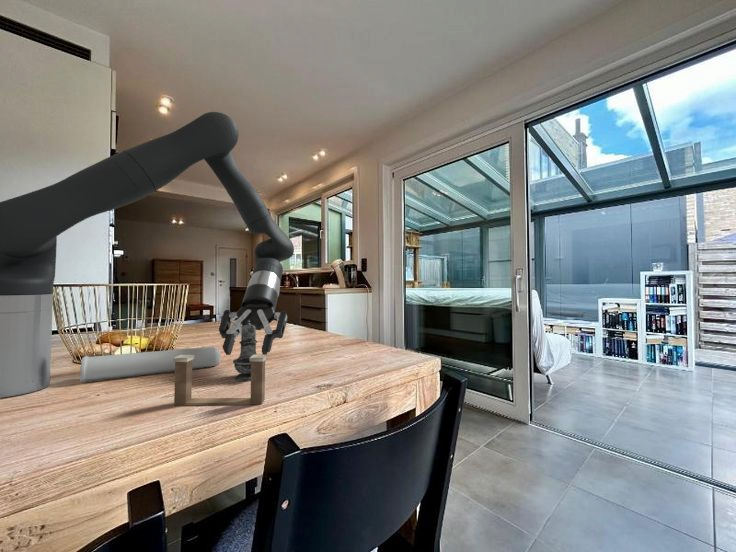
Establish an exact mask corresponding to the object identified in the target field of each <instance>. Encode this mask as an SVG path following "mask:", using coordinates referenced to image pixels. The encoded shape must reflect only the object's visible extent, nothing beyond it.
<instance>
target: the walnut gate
mask: <svg viewBox="0 0 736 552" xmlns="http://www.w3.org/2000/svg"><path fill="white" fill-rule="evenodd" d="M267 357H268V354H267V355H263V354H257V355H253V356H251V357H250V362H251V381H250V397H215V398H214V397H207V398H205V397H203V398H201V397H195V398H192V387H193V386H192V384H193V383H192V382H193V369H192V359H194V355H179V356H177V357H175V358H173V362H175V371H174V395H173V396H174V399H173V403H174V404H173V405H174V406H242V405H243V406H244V405H245V406H246V405H249V406H250V405H263V403H264V402H265V400H266V399H265V397H266V396H265V394H266V393H265V392H266V390H265V389H266V388H265V387H266V359H267Z"/></svg>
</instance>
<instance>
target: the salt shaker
mask: <svg viewBox="0 0 736 552" xmlns="http://www.w3.org/2000/svg"><path fill="white" fill-rule="evenodd" d="M241 327H242V326H241ZM256 332H257V330H256V327H255V326H254V325H252V324H250V321H249V320H248V324H246V325H244V326H243V327H242V330H241V334H240V336H241V338H240V339H241V341H239V344H240V354H239V356H238V357H237V358H236V359H234V360H233V361H232V363H233V365H234V369H235V370H236V371H237V372H238V373H239V374H236V375H235V376H234V377H233V379H234V380H235V381H236V382H251V362H250V357H251V356H253V355H258V354H257V350H256V349H257V347H256V346H257V343H258V340H257V337H256V334H257V333H256Z"/></svg>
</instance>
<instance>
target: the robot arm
mask: <svg viewBox="0 0 736 552" xmlns="http://www.w3.org/2000/svg"><path fill="white" fill-rule="evenodd" d="M239 136H240V135H239V129H238V126H237V123H236V122H235V121H234V119H233V118H232V117H230V116H229V115H227V114H226V113H223V112H219V111H209V112H205V113H203V114H202V115H200V116H198V117H197V118H195V119H194V120H192V121H190V122H189V123H187V124H185V125H184V126H182V127H180V128H178V129H176V130H174V131H172V132H169V133H167V134H165V135H162V136H160V137H159V136H158V137H157V138H153V139H150V140H147V141H145V142H143V143H141V144H138V145H135V146H133V147H129V148H127V149H124V150H122V151H120V152H117V153H114V154H113V155H111V156H109V157H106V158H104V159H102V160H100V161H98V162H95V163H93V164H91V165H89V166H87V167H86V168H83V169H82V170H79V171H78V172H75V173H74V174H72V175H70V176H68V177H66V178H64V179H62V180H60V181H58V182H56V183H53V184H51V185H48V186H45V187H42V188H40V189H37V190H34V191H31V192H27V193H25V194H22V195H19V196H16V197H12V198H9V199H6V200H3V201H0V399H1V398H8V397H14V396H15V397H16V396H20V395H24V394H28V393H29V394H30V393H33V392H36V391H39V390H43V389H45V388H47V387H49V386H50V384H51V367H52V362H51V361H52V336H53V335H52V333H53V303H54V302H53V300H54V299H53V297H54V296H53V295H54V294H53V293H54V282H55V277H56V267H57V266H56V264H57V263H56V262H57V247H58V246H57V245H58V244H57V241H58V239H57V237H58V236H59V235H61V234H63V233H64V232H66V231H68V230H69V229H71V228H72V227H74V226H76V225H77V224H79V223H81V222H83V221H85V220H87V219H89V218H91V217H95V216H96V215H100V214H103V213H106V212H109V211H113V210H116V209H120V208H122V207H125V206H128V205H130V204H132V203H135V202H137V201H139V200H142V199H144V198H146V197H148V196H149V195H151V194H153V193H155V192H157V191H158V190H160V189H161V188H163V187H165V186H167V185H168V184H169V183H171V182H172V181H173V180H175V179H176V178H177V177H179V176H180V175H181V174H183V173H184V172H185V171H186V170H188V169H190V167H192V166H193V165H195V164H196V163H199V162H201V161H202V160H203V161H205V162H206V163H207V165H208V166H209V168H210V169H211V171H212V172H213V173H214V175H215V176H216V178H218V180H219V182H220V183H221V185H222V186H223V188H224V189H225V191H226V193H227V194H228V196H229V197H230V199H231V201H232V202H233V204H234V205H235V207H236V209H237V211H238V213H239V215H240V217H241V218H242V221H243V222H244V225H246V228H247V230H248V231H249V233H250V234H251V235H252V234H253V235H261V234H265V235H266V236H267V237H269V238H268V239H266V240H263V241H260V242H259V243H257V245H256V246H255V248H254V251H253V252H254V269H253V273H252V276H251V278H250V280H249V281H248V284H247V287H246V290H245V293H244V296H243V298H242V303H241V304H240V306H241V307H240V308H239V309H238V310H237V311H233V312H231V311H230V310H229V309H226V310H224V311H223V315H222V317H221V321H220V324H219V327H218V332H219V334H220V337H221V338H222V339H224V340H223V341H224V342H223V344H222V350H223V352H224V353H225V356H231V354H232V352H233V351H232V350H233V348H234V345H235V343H236V340H235V339H236V338H238V337H239V336H241V330H242V327H243V326H244V325H246V324H248V320H249V321H250V324H252V325H254V326H255V327H256V331H262V330H263V332H264V333H265V334H264V338H263V341H262V346H261V353H262V354H261V355H267V356H268V353H270V352H271V350H272V345H273V341H274V340H276V339H282V338H283V337H284V333H285V330H286V326H287V323H288V314H287V311H286V310H284V309H283V310H281V311H280V312H279V311H278V312H276V307H277V304H278V303H277V302H278V299H279V296H280V289H281V281H282V276H283V271H284V268H283V264H282V263H281V262H283V261H286V260H289V259H291V258H292V257H293V255H294V253H295V247H294V243H293V241H292V239H291V238H290V237H289V236H288V235H287V233H285V232H284V230H283V229H282V228H281V227H280V226H279V224H278V223H276V221H275V220H274V219H273V216H272V214H271V213H270V211H269V209H268V207H267V205H266V203H265V201H264V199H263V198H262V196H261V195H260V193H259V192H258V191H257V189H256V188H255V187H254V186H253V185H252V184H251V183H250V181H249V180H248V179H247V178H246V177H245V176H244V174H243V172H241V170H240V168H239V167H238V164H237V163H236V159H235V157H234V155H233V153H232V151H233V149H235V147H236V146H237V144H238V141H239ZM275 319H276V322H277V324H276V327H275V329H272V327H271V325H270V323H271V322H273V321H274V320H275ZM234 320H235V321H234ZM232 323H233V324H232ZM231 324H232V325H231Z"/></svg>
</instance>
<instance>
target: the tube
mask: <svg viewBox="0 0 736 552" xmlns="http://www.w3.org/2000/svg"><path fill="white" fill-rule="evenodd" d="M179 355H194V359H192V370H196V369H197V368H198V369H204V367H206V368H211V367H212V366H214V367H216V366H218V365H219V364H220V362H221V358H222V355H221V351H220V348H218V347H215V346H205V347H204V346H203V347H190V348H189V347H188V348H181V349H180V348H179V349H168V350H155V351H143V352H134V353H133V352H132V353H131V352H129V353H120V354H119V353H118V354H105V355H97V356H88V355H84V356H83V357H82V358H81V363H80V373H79V374H80V375H79V380H80V384H84V382H85V383H88V382H89V381H91V382H98V380H99V381H106V380H114V379H115V380H116V379H122V378H123V379H125V378H131V377H137V376H138V377H139V376H147V375H155V374H156V373H157V374H164V372H165V373H171V372H172V371H173V372H175V362H173V358H175V357H177V356H179ZM212 368H213V367H212Z"/></svg>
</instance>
